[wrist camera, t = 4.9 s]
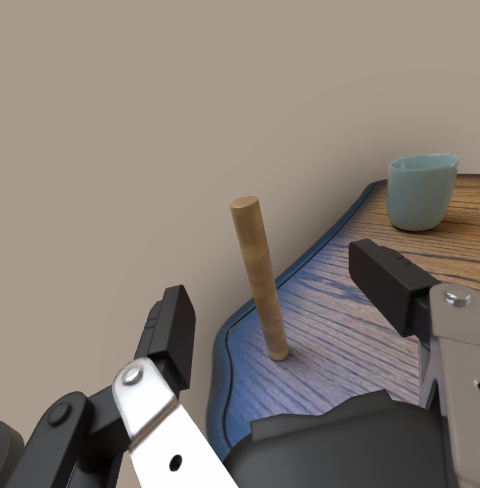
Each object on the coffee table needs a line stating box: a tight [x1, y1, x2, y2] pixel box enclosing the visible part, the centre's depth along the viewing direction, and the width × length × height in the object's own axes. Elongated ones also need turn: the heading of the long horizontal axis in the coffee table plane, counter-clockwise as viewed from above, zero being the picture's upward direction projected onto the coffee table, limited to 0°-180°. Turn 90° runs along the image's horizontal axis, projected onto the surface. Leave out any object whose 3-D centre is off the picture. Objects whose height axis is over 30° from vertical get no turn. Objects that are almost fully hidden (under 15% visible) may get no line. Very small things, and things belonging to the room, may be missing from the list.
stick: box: [230, 196, 289, 361], centre depth 19 cm, size 2×2×16 cm
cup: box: [387, 153, 459, 231], centre depth 34 cm, size 8×8×10 cm
